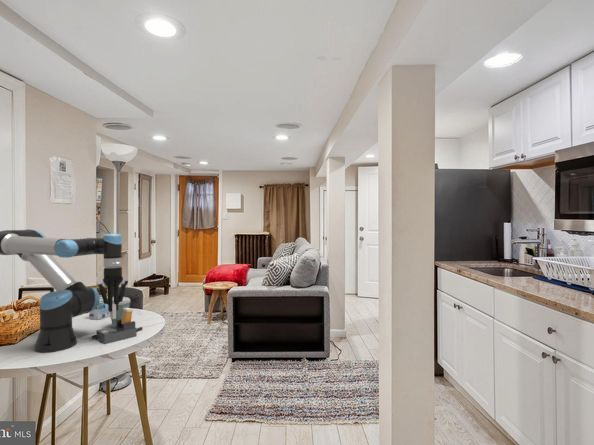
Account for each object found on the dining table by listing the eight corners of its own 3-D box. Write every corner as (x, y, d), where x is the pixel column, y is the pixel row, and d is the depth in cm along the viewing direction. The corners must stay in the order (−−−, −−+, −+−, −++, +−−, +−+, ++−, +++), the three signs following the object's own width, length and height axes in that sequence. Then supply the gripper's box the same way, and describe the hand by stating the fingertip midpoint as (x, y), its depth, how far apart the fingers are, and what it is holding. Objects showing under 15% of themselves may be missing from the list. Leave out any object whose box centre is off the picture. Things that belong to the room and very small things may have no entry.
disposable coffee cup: (132, 323, 190) (132, 295, 190) (128, 329, 180) (128, 299, 180) (111, 324, 188) (110, 296, 188) (105, 330, 177) (105, 300, 177)
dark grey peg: (134, 332, 174) (134, 329, 174) (132, 332, 175) (132, 329, 175) (142, 329, 179) (142, 327, 179) (140, 329, 179) (140, 326, 179)
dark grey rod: (92, 338, 165) (92, 335, 165) (91, 338, 166) (91, 335, 166) (134, 329, 179) (134, 326, 179) (132, 329, 180) (132, 326, 180)
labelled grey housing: (104, 344, 158) (104, 328, 158) (96, 339, 165) (96, 323, 165) (136, 336, 168) (136, 321, 168) (127, 332, 175) (127, 317, 175)
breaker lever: (125, 328, 167) (127, 309, 167) (120, 325, 170) (122, 307, 171) (130, 327, 168) (132, 309, 169) (125, 325, 172) (127, 307, 173)
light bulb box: (98, 320, 197) (98, 300, 197) (88, 319, 199) (88, 299, 199) (113, 315, 208) (113, 296, 207) (103, 314, 209) (103, 296, 209)
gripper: (100, 269, 158) (101, 322, 158) (130, 266, 168) (131, 316, 167) (94, 267, 163) (95, 319, 163) (124, 265, 173) (124, 314, 173)
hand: (113, 318), depth 165 cm, fingers closed
